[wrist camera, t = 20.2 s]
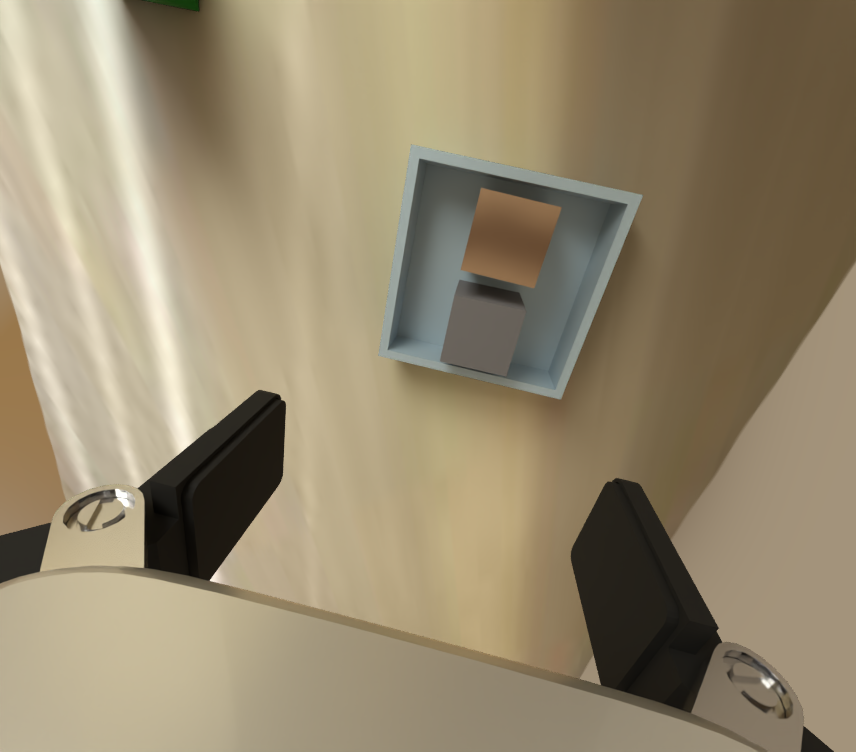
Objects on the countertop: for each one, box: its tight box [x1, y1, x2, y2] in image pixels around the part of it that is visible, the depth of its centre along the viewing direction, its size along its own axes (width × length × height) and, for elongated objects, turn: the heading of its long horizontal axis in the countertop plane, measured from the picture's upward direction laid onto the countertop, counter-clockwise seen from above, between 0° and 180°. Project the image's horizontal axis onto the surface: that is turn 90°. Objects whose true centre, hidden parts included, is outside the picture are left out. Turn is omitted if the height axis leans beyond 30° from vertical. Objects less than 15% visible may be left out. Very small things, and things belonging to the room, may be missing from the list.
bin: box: [378, 145, 643, 400], centre depth 35 cm, size 18×18×5 cm
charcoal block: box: [440, 280, 526, 376], centre depth 36 cm, size 6×6×7 cm
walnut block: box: [461, 188, 562, 288], centre depth 32 cm, size 6×6×7 cm
